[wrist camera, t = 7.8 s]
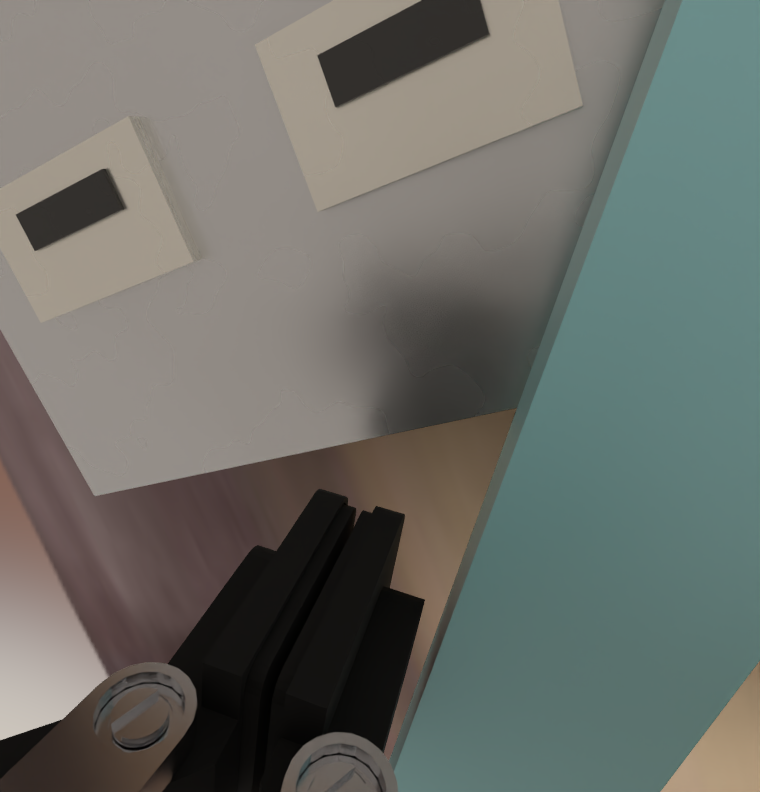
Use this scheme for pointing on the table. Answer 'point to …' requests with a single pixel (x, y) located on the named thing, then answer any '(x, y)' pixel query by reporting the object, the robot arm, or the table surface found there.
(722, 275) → the swing bar
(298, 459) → the table surface
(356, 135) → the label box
